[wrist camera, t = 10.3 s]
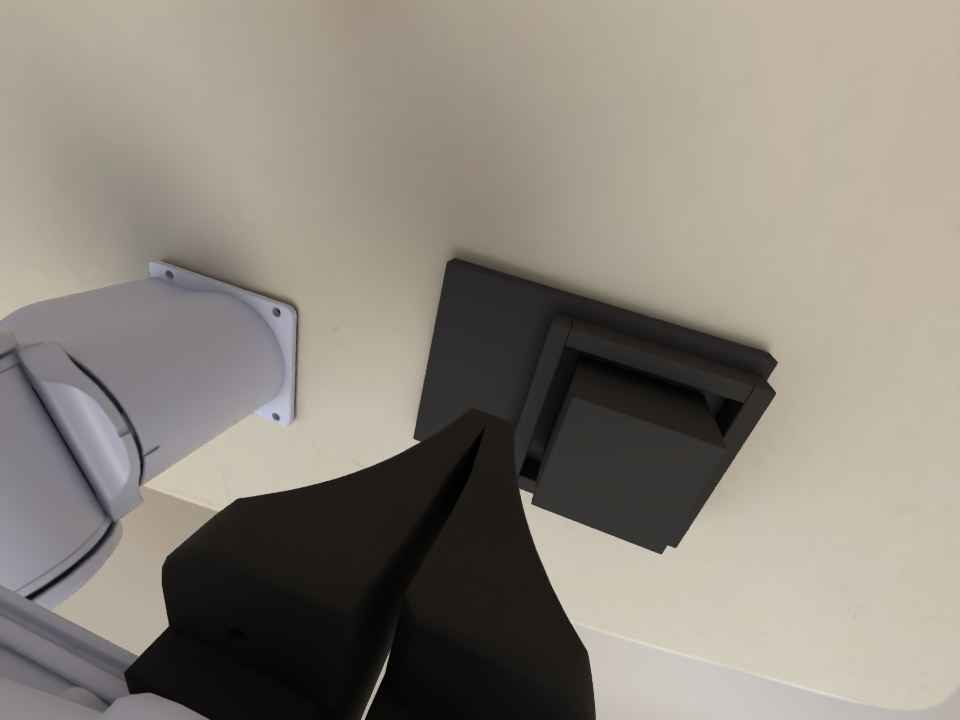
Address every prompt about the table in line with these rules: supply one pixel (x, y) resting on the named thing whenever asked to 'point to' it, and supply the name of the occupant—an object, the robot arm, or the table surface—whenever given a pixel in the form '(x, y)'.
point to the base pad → (572, 363)
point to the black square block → (627, 454)
